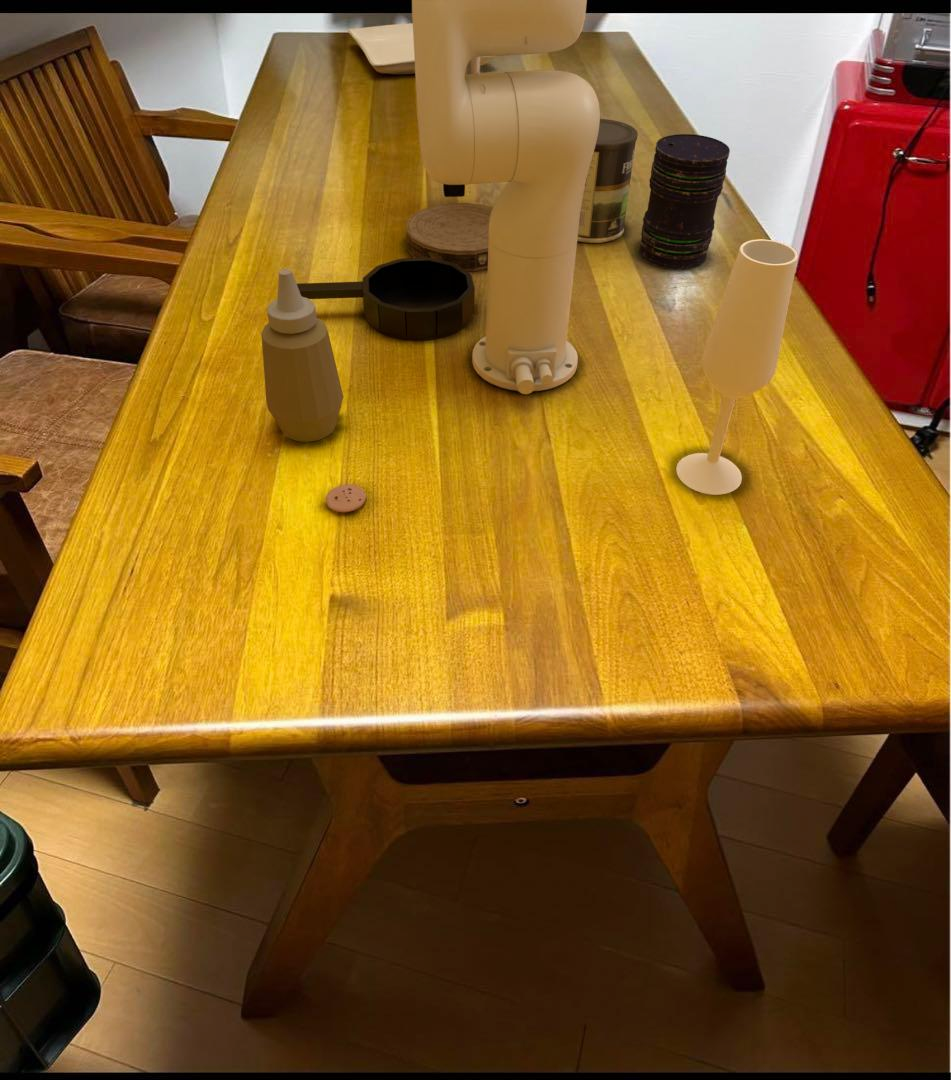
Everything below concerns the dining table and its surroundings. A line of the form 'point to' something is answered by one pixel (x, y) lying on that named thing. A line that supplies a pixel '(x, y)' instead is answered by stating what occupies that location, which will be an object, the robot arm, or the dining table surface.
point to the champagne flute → (742, 350)
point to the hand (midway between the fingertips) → (454, 194)
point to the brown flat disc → (451, 234)
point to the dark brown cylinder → (683, 200)
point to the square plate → (391, 47)
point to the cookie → (345, 498)
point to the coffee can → (607, 183)
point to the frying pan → (408, 297)
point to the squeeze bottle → (299, 366)
